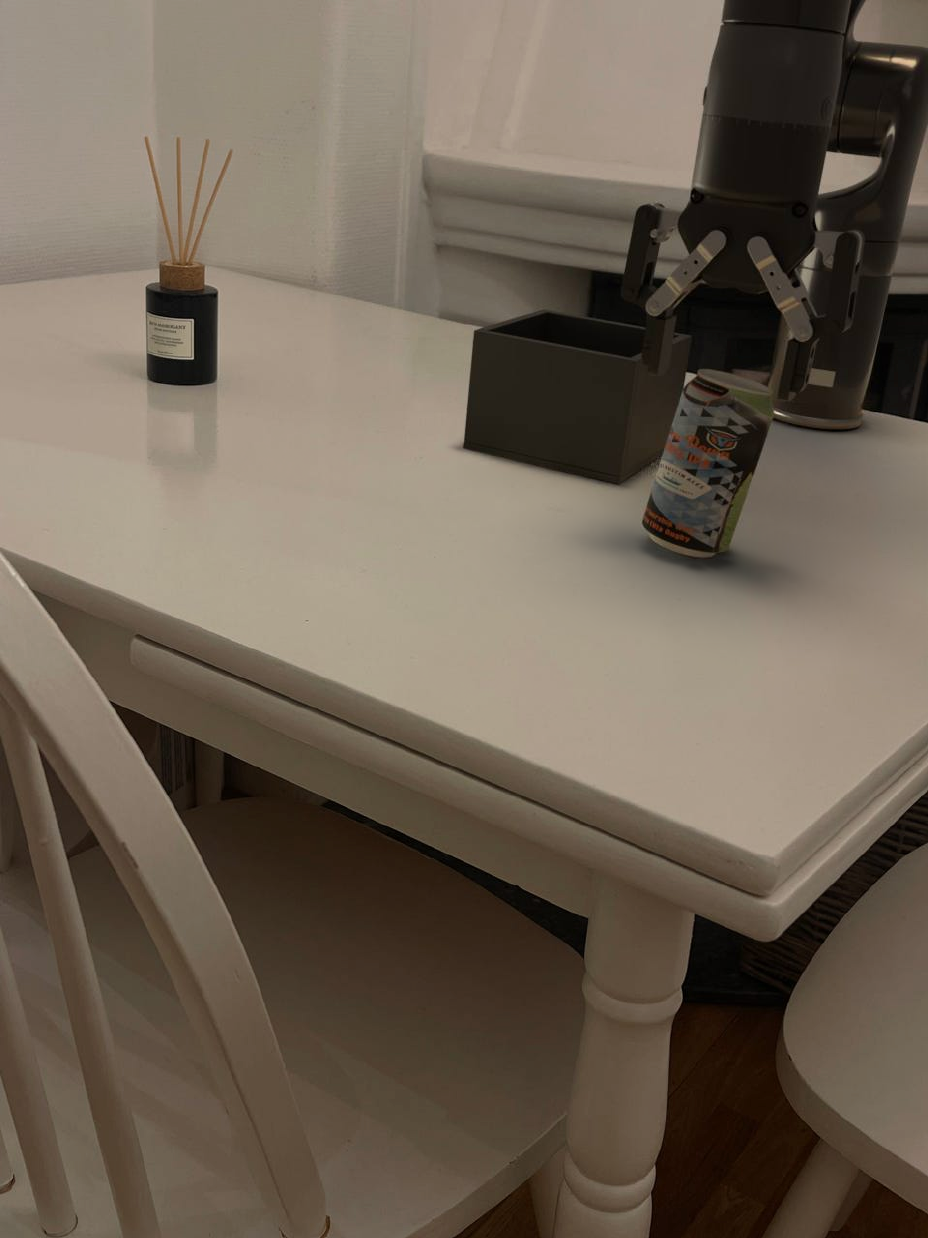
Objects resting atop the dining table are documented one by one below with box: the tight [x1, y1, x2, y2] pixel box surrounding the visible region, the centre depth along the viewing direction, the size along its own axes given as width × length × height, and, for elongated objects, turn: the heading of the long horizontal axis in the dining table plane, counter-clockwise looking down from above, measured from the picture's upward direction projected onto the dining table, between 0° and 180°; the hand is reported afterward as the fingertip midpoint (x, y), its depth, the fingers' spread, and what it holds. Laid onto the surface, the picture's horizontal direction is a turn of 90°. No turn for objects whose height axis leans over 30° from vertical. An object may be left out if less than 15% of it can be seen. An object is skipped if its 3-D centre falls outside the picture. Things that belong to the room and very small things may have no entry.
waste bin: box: [462, 308, 693, 485], centre depth 104 cm, size 14×14×10 cm
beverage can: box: [641, 368, 774, 558], centre depth 83 cm, size 6×7×12 cm
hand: (720, 385), depth 81 cm, fingers open, 8 cm apart
